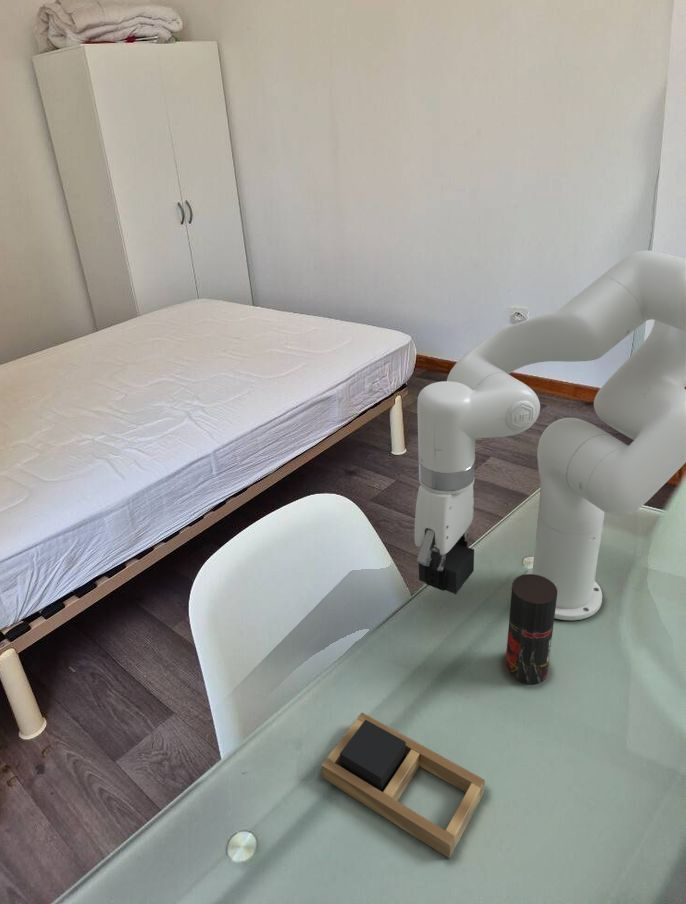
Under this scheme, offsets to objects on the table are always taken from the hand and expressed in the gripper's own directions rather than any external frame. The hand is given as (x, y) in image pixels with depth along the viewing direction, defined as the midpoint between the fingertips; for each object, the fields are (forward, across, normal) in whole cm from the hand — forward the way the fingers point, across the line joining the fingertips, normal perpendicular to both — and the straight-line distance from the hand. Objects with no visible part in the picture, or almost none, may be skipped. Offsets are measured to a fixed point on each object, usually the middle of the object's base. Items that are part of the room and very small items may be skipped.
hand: (446, 572), depth 102 cm
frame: (+12, +26, +7) cm, 29 cm away
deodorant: (+13, 0, +13) cm, 18 cm away
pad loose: (+1, 0, 0) cm, 1 cm away
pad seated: (+12, +26, +3) cm, 29 cm away
